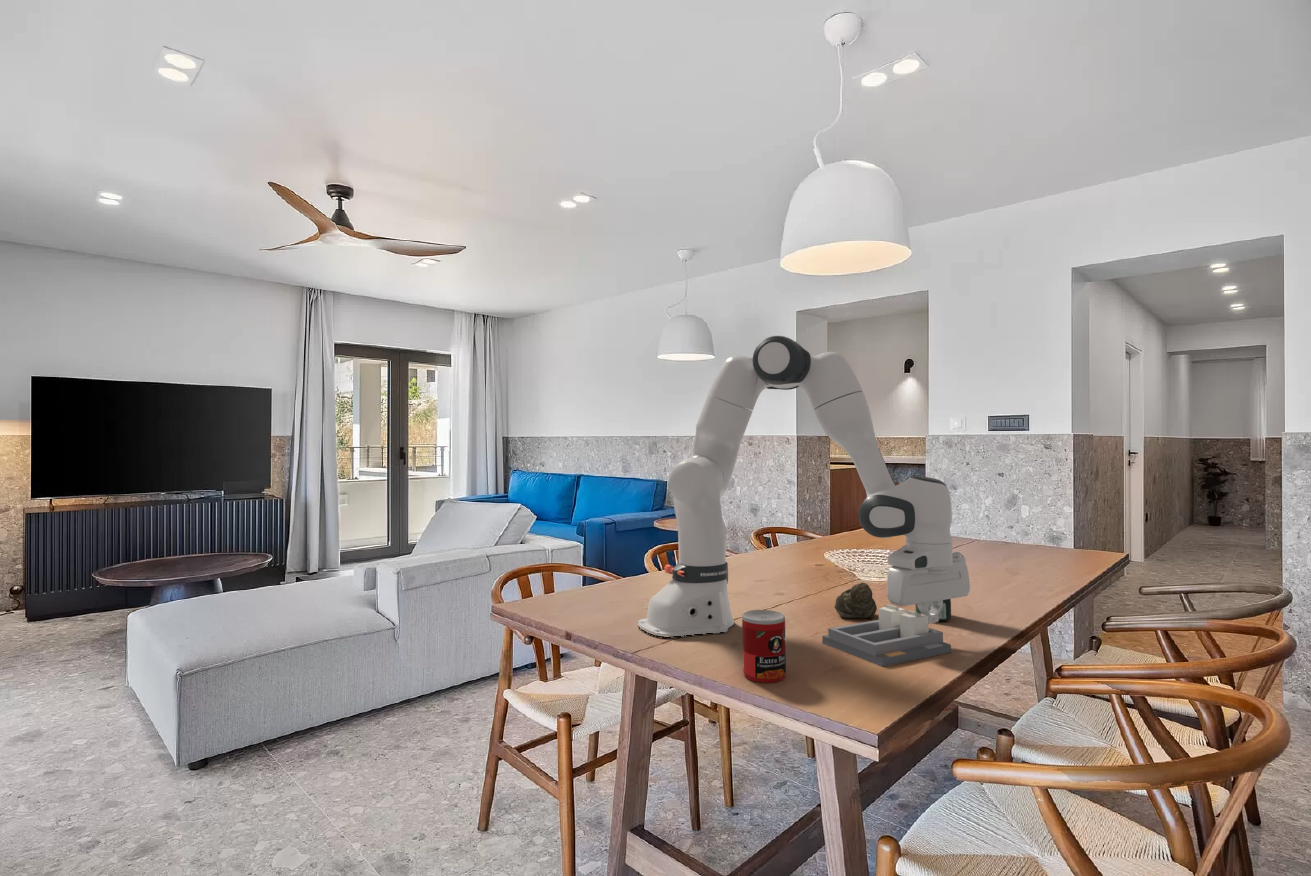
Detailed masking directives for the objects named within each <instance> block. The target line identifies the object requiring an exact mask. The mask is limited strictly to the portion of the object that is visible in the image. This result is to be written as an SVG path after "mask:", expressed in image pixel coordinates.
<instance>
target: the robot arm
mask: <svg viewBox="0 0 1311 876" xmlns="http://www.w3.org/2000/svg"><path fill="white" fill-rule="evenodd" d="M799 387H800V388H802V389H803V390H804V391H805V393H806V394H807V396H808V398H809V399H810V403H811V405H812V408H813V410H814V413H815V415H816V418H817V420H818V422H819V424H820V426H821V428H822V429H823V431H824V433H825V434H826V435H827V437H828V438H829V439H830V440H832V441H833V442H834V443H835V444H837V445H838V446H840V447H841V448H842V449H843V450H844V451H845V452H846V453H847V454H848V455H849V458H851V460H852V462H853V464H854V466H855V468H856V471H857V473H858V476H859V478H860V481H861V482H862V485H863V487H864V490H865V493H866V498H865V499H864V500H863V502H862V503H861V504H860V506H859V509H858V513H857V515H858V521H859V524H860V526H861V528H862V529H863V531H865V532H866V533H867V534H869V535H870V536H872V537H875V538H880V539H888V538H889V539H890V538H892V537H898V536H899V537H900V536H905V539H906V540H905V544H904V545H903V546H901V548H899V549H897V550H895V551H893V552H892V553H889V554H888V556H887V564H888V566H891V567H889V569H888V571H887V576H886V577H887V578H886V596H887V599H888V601H889V603H890V604H891V605H893V606H897V607H907V606H908V607H909V606H916V605H915V604H917V607H918V609H919V610H920V612H921V614H923V615H927V616H928V625H929V624H933V623H938V622H940V621H939V613H940V610H941V608H942V606H943V600H946V599H951V600H952V599H955V598H956V599H958V598H962V597H963V598H964V597H968V596H969V593H970V591H971V586H970V585H971V584H970V576H969V569H968V566H967V563H966V561H967V560H966V557H965V555H963V554H962V553H961V552H960V551H954V552H953V539H952V535H951V526H952V523H953V522H952V521H953V513H952V498H951V493H950V490H949V489H950V488H949V487H948V485H947V484H946V483H945V482H944V481H942V480H940V479H936V478H933V477H928V476H923V475H921V476H920V475H912V476H909V477H908V479H906V480H904V481H902V482H901V483H898V484H896V482H895V481H894V480H893V478H892V475H891V474H890V473H891V472H890V471H889V469H888V466H887V464H886V462H885V459H884V457H883V455H882V453H881V450H880V448H879V445H878V442H877V437H876V433H875V430H874V425H873V420H872V414H871V411H870V408H869V404H868V401H867V397H866V396H865V393H864V390H863V388H862V386H861V383H860V382H859V380H858V378H857V375H856V373H855V372H854V370H853V369H852V367H851V365H850V364H849V362H848V360H846V358H845V357H844V355H842V353H839V352H836V351H826V352H822V353H818V354H816V355H815V354H814V355H811V353H810V352H809V351H808V350H806V349H805V348H804V347H803V346H802V345H801V344H800V343H799V342H797V341H795V340H793V339H791V338H790V337H788V336H784V335H773V336H772V335H771V336H768V337H765V339H762V340H761V342H760V343H759V342H758V344H757V346H756V347H755V348H754V351H753V355H752V357H749V356H747V355H739V354H737V355H731V356H729V357H728V358H726V359H725V360H724V362H723V364H722V365H721V367H720V368H719V370H718V372H717V373H716V375H715V378H714V379H713V381H712V384H711V386H710V389H709V391H708V393H707V396H706V399H705V401H704V403H703V407H702V410H701V412H700V415H699V418H698V420H697V423H696V425H695V436H694V441H693V446H692V450H691V453H690V456H689V457H687V458H684V459H682V460H681V461H680V462H678V463H677V464H676V465H675V466H674V467H673V469H672V470H671V472H670V474H669V478H668V488H669V492H670V493H671V495H672V502H673V508H674V513H675V514H674V515H675V519H676V524H677V537H678V541H677V543H678V562H677V563H676V565H674V566H673V565H670V564H665V566H664V567H663V572H664V573H665V574H669V575H671V576H672V577H671V578H672V579H671V580H670V581H669V582H668V583H666V585H664V586H663V588H661V589H660V590H659V591H658V592H657V593H655V594H654V595H653V596H652V597H651V598H650V599H649V602H648V607H647V615H646V618H641V619H638V622H637V626H638V625H639V627H641V628H642V629H643V630H645V631H648V632H650V633H653V634H656V635H659V636H681V637H687V636H686V635H692V636H695V635H694V634H703V635H707V634H706V633H713V634H721V633H720V632H724V633H727V632H728V631H729V629H730V627H732V626H733V625H734V624H735V620H734V618H733V613H732V610H731V606H730V599H729V593H728V584H729V583H728V582H729V563H728V562H727V559H726V558H727V555H726V553H727V552H726V551H727V550H726V548H727V545H726V544H727V543H726V542H727V541H726V540H727V539H726V526H725V524H724V520H723V519H724V518H723V514H722V507H721V499H720V498H721V497H722V496H723V495H724V494H725V493H726V492H727V490H728V488H729V485H730V481H731V478H732V475H733V473H734V469H735V465H736V462H737V458H738V456H739V455H738V454H739V449H740V447H741V443H742V441H743V438H744V435H745V432H746V429H747V427H748V424H749V422H750V419H751V417H752V414H753V412H754V409H755V406H756V403H757V400H758V398H759V397H760V394H761V393H762V392H763V391H764V390H765V389H767V390H781V391H782V390H783V391H789V390H790V391H791V390H794V389H797V388H799ZM930 604H932V605H931V608H930V612H929V609H928V607H930ZM639 627H638V628H639ZM683 635H685V636H683Z"/></svg>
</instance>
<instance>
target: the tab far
mask: <svg viewBox="0 0 1311 876" xmlns="http://www.w3.org/2000/svg"><path fill="white" fill-rule="evenodd" d="M905 613H907V610H906V609H905V608H903V607H902V608H901V607H900V606H897V605H894V604H889V603H886V604H884V606H883V607H878V620H879V630H883V629H888V628H894V627H899V626H900V614H905Z"/></svg>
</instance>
